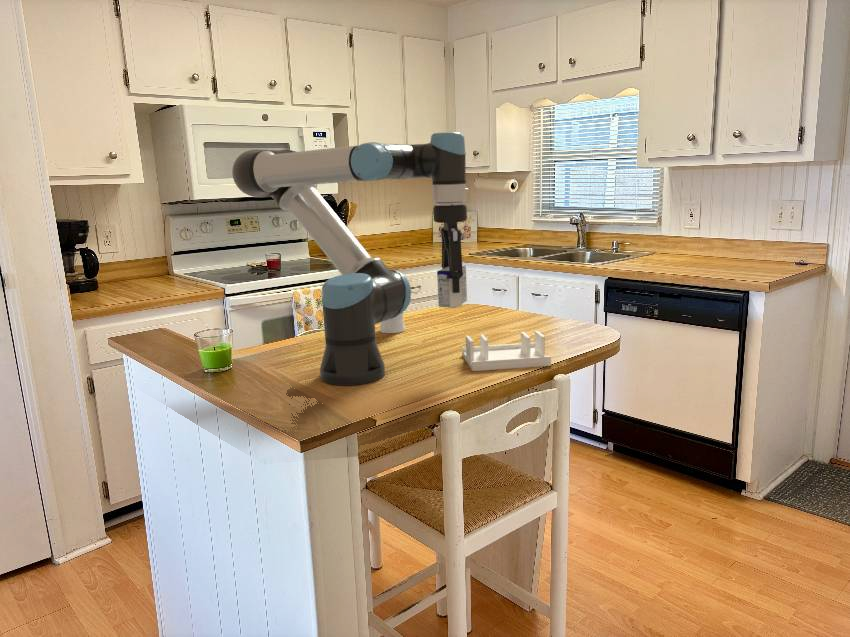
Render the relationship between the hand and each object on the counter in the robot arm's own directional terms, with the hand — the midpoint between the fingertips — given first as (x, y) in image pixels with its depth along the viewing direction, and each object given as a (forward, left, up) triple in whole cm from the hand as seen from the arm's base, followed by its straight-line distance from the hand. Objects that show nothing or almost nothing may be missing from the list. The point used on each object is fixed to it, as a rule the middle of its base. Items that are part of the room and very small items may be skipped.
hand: (452, 302), depth 148 cm
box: (0, 0, -1) cm, 1 cm away
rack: (+13, +5, -16) cm, 22 cm away
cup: (-12, +44, -16) cm, 48 cm away
